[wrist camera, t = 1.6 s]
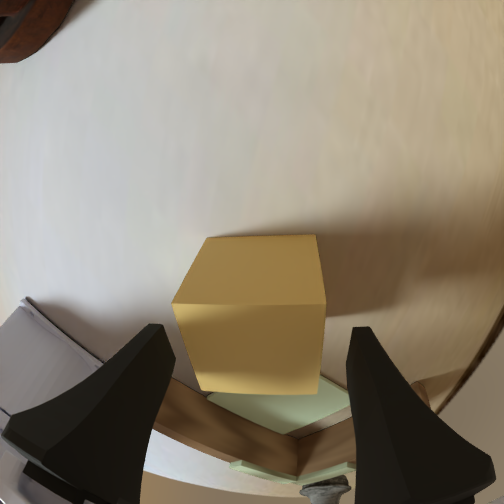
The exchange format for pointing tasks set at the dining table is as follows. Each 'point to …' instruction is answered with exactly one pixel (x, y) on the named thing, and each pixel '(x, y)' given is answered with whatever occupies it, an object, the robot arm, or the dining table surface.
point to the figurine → (28, 26)
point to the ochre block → (254, 314)
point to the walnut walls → (258, 439)
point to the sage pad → (285, 406)
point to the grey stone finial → (326, 490)
